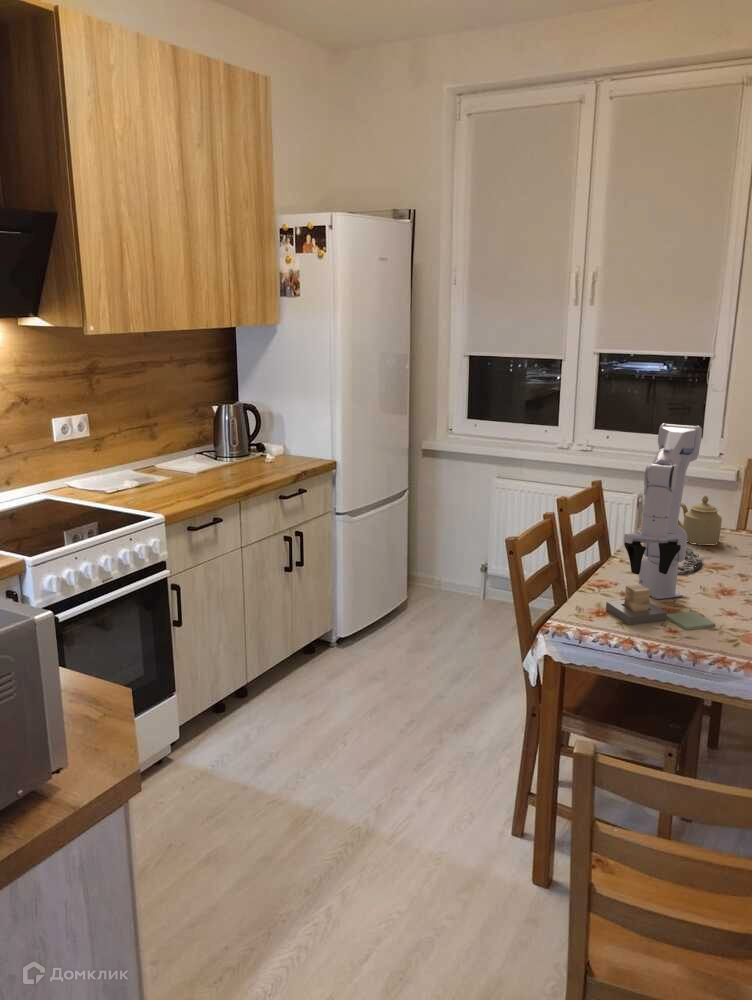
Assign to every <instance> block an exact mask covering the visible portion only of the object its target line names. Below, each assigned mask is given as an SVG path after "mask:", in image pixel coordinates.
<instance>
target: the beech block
mask: <svg viewBox="0 0 752 1000" xmlns="http://www.w3.org/2000/svg"><path fill="white" fill-rule="evenodd" d="M624 592H625V593H624V600H625V602H624V607H626V608H627V609H629V610H631V611H632V612H639V611H647V610H648V608H649V602H650V599H651V598H650V597H651V596H650V589H648V588H646V587H644V586H642V585H641V584H639V583H638V584H631V585H630V584H629V585H625V591H624Z"/></svg>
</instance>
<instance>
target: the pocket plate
mask: <svg viewBox="0 0 752 1000" xmlns="http://www.w3.org/2000/svg"><path fill="white" fill-rule="evenodd" d="M624 602H625V599H619V600H611V601H606V605H605V610H606V611H607V612H609V613H611V614H612V615H614V616H615V617H617V618H618V617H619V618H618V619H620V620H622V621H623V622H624V621H625V623H626V624H627V623H628V625H629V626H633V624H634V625H640V624H641V625H642V624H648V623H657V622H664V621H667V614H668V612H667V611H665V610H664V609H663V608H660V607H658V606H656V605H655V604H654V603H651V602H650V601H649V608H648V610H647V611H639V612H632V611H631V610H629V609H627V608H626V607H624Z"/></svg>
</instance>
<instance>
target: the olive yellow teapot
mask: <svg viewBox="0 0 752 1000" xmlns="http://www.w3.org/2000/svg"><path fill="white" fill-rule="evenodd" d="M701 501H702V502H697V503H694V504H693V505H691V506H690V507H689V508H690V510H689V509H688V507H687V505H686V503H683V502H681V507H680V508H682V513H683V522H681V521H680V519H678V525H679V526H680V527H681V528H682V529H684V530H685V531H686V534H687V541H688V542H691V543H696V544H716V543H718V542H720V536H721V531H722V530H721V529H722V521H723V517H722V516H721V515H720V514H718V511H719V509H718V508H717V507H716V506H715V505H714V504H711V503H708V502H709V498H708V496H707V495H706V494H705V495H703V496H702V498H701ZM682 523H683V524H682ZM718 544H719V543H718Z"/></svg>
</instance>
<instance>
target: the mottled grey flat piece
mask: <svg viewBox="0 0 752 1000" xmlns="http://www.w3.org/2000/svg"><path fill="white" fill-rule="evenodd" d="M699 556H700V555H699V553H696V552H694V550H693V549H691V548H688V547H687V548H686V555H685V559H684V560H683V561H682V565H678V570H679V569H680V570H679V571H678V573H677V576H681V575H680V574H682V575H690V573H691V574H694V572H695V571H697V570H699V569H700V568H701V567H702V565H703V559H701V558H700V557H699ZM695 566H696V567H695ZM688 573H689V574H688Z"/></svg>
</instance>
